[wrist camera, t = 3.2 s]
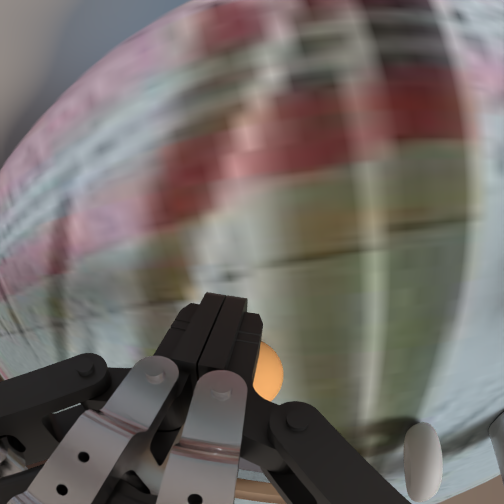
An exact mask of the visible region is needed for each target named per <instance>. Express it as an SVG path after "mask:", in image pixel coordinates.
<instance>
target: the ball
mask: <svg viewBox="0 0 504 504" xmlns="http://www.w3.org/2000/svg"><path fill="white" fill-rule="evenodd" d="M282 382H283V367H282V364H281V361H280V359H279V357H278V355H277V354H276V352H275V351H274V350H273V349H272V348H271V347H270V346H268V345H267V344H265V343H264V342H261V344H260V352H259V358H258V363H257V368H256V373H255V378H254V382H253V387H254V389H255V391H256V392H257V393H258V394H259V395H260V396H261V397H263V398H264V399H266V400H268V401H270V402H271V401H272V400H273V399H274V398H275V397H276V395H277V394H278V392H279V390H280V388H281V385H282Z"/></svg>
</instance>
